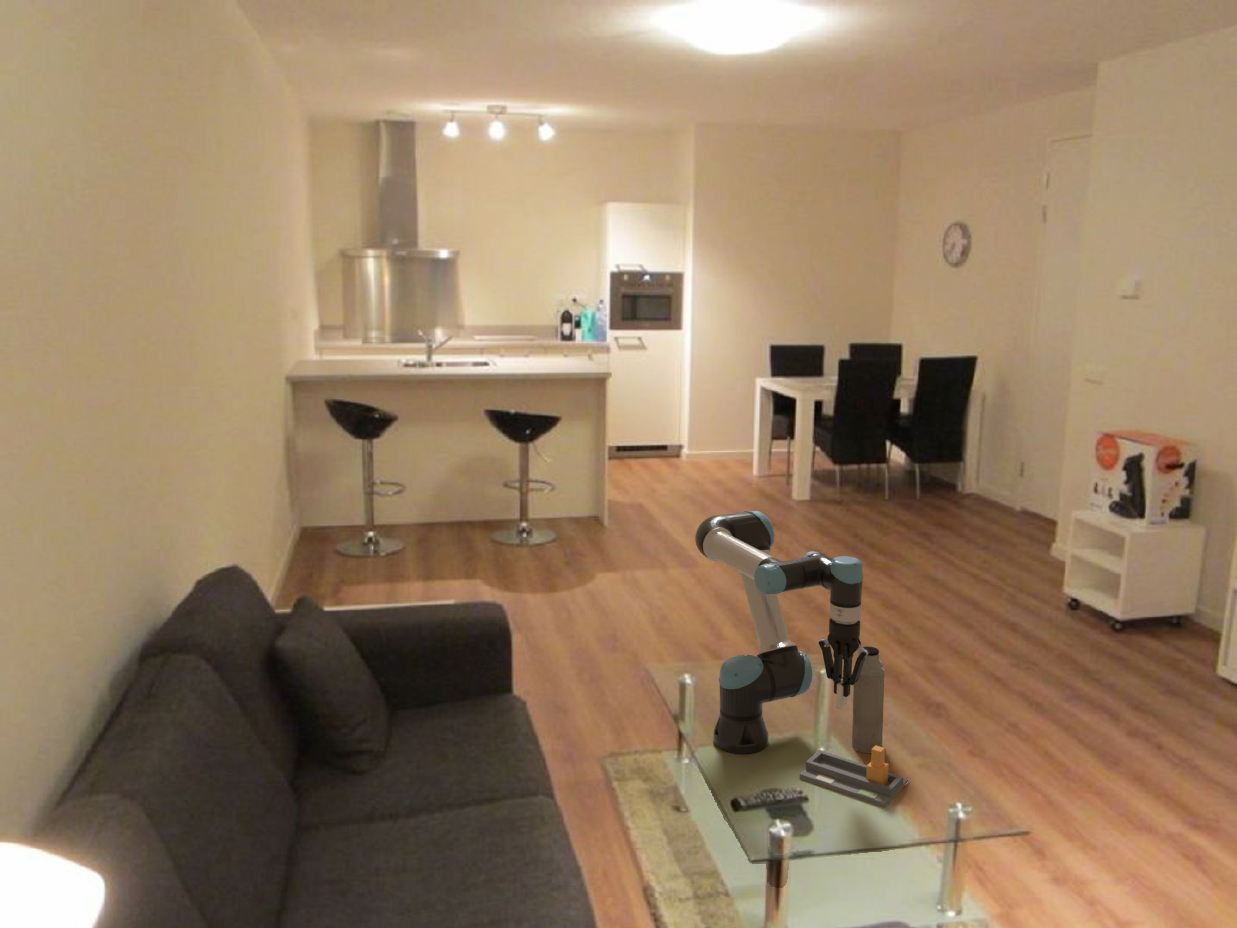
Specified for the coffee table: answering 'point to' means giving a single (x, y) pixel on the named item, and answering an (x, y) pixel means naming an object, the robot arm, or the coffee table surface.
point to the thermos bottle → (868, 704)
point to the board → (850, 778)
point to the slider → (877, 766)
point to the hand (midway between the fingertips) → (841, 706)
